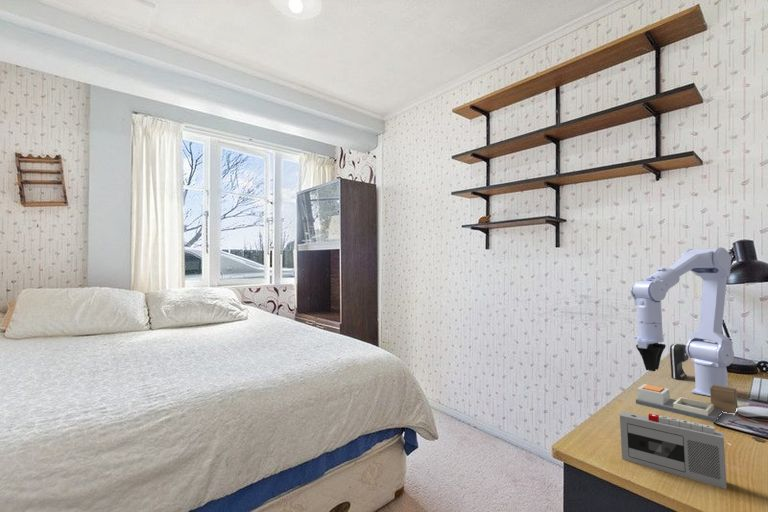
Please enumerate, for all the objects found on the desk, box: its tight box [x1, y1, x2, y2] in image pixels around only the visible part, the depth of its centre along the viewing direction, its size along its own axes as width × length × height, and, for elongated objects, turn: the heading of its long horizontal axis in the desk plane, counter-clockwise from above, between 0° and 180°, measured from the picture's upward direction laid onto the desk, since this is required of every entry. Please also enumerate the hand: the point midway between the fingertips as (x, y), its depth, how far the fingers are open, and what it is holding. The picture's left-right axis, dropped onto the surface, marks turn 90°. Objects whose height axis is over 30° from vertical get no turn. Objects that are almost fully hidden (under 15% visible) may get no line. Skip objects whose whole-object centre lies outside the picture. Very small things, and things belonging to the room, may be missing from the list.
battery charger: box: [669, 343, 689, 380], centre depth 124 cm, size 7×4×11 cm, turn 128°
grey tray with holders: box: [635, 383, 723, 423], centre depth 98 cm, size 8×17×4 cm, turn 38°
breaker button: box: [643, 384, 665, 393], centre depth 103 cm, size 4×4×3 cm
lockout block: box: [710, 385, 739, 413], centre depth 96 cm, size 4×4×6 cm
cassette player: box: [619, 410, 728, 490], centre depth 70 cm, size 16×3×10 cm, turn 47°
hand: (652, 369), depth 103 cm, fingers closed
